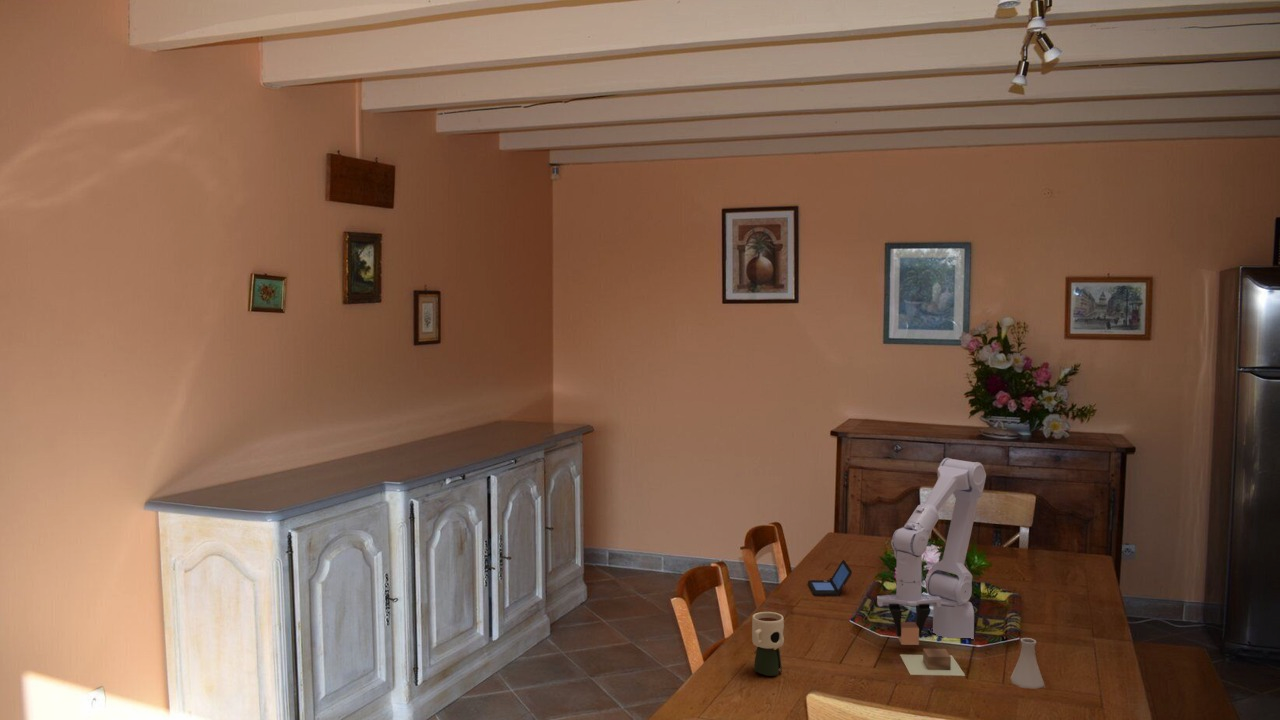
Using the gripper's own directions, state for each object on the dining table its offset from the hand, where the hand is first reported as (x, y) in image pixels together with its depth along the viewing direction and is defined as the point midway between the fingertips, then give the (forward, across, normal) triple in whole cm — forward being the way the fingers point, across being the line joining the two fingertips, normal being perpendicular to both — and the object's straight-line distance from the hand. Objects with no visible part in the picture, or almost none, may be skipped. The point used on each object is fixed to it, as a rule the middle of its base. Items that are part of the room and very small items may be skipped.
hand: (908, 635), depth 233 cm
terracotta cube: (+2, 0, 0) cm, 2 cm away
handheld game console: (+5, -12, +48) cm, 50 cm away
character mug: (+4, -34, -14) cm, 37 cm away
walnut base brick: (+3, +4, -10) cm, 11 cm away
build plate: (+4, +3, -9) cm, 11 cm away
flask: (+4, +22, -18) cm, 29 cm away
